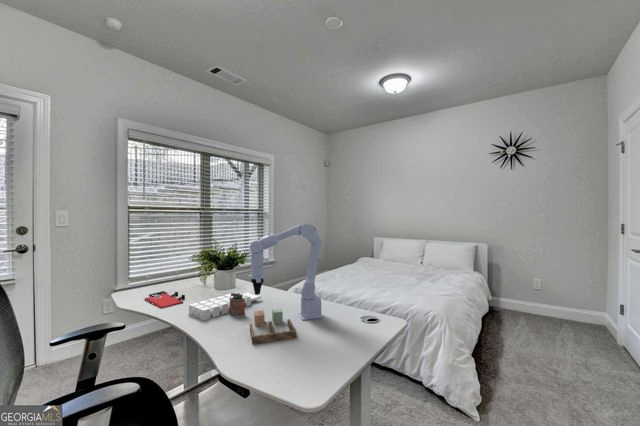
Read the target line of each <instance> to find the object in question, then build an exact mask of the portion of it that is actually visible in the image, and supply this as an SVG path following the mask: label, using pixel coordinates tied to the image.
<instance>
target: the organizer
mask: <svg viewBox="0 0 640 426" xmlns="http://www.w3.org/2000/svg"><path fill="white" fill-rule="evenodd" d="M234 293H236V294H237V293H238V292H236V291H235V292H234ZM242 294H243V297H242V298H245V307H248V306H251V305H252V302H255V301H257V300H260V299H262V295H261V294H259V295H255V294H254V293H251V292H249V291H248V292H245V293H242ZM231 297H233V296H231V293H227V294H225V295H220V296H216V297H215V298H214V297H212V298H209V299H207V300H202V301H201V300H200V301H198V303H197V302H195V303H194V302H193V303H190V304H189V305H188V314H189V315H191V316H194V317H195V318H197V319H198V318H199V320H202V321H205V320H208V319H211V317H212V318H215V317H218V316H220V315H224V314H227V313H229V312H230V300H229V298H231Z"/></svg>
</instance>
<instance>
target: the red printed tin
mask: <svg viewBox="0 0 640 426" xmlns="http://www.w3.org/2000/svg"><path fill="white" fill-rule="evenodd" d="M230 294H231V296H233V297H231V298H229V300H230V311H228V314H229V315H230V316H231V315H233V316H244V315H246V312H245V311H246V309H245V308H246V306H245V298H242V297H243V294H244V293H240V292H237V294H236V293H235V292H231V293H230Z"/></svg>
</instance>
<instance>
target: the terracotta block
mask: <svg viewBox="0 0 640 426" xmlns="http://www.w3.org/2000/svg"><path fill="white" fill-rule="evenodd" d="M253 323H254V326H255V327H259V326H260V327H261V326H265V312H264V310H255V311H253Z"/></svg>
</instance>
